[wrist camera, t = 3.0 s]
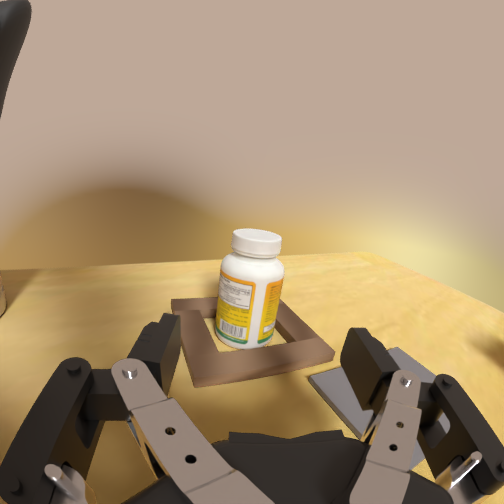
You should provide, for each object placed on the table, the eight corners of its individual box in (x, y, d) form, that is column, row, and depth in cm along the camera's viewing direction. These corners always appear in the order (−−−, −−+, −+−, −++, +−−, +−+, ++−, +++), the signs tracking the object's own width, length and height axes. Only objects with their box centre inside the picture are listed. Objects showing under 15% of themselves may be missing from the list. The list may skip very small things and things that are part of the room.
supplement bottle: (219, 353, 22) (229, 240, 19) (211, 320, 27) (219, 224, 24) (280, 349, 23) (300, 244, 20) (263, 319, 28) (277, 228, 25)
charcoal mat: (397, 480, 10) (401, 476, 9) (308, 380, 19) (309, 376, 19) (472, 409, 14) (475, 405, 14) (395, 350, 24) (397, 346, 23)
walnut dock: (194, 387, 17) (194, 377, 17) (171, 307, 28) (171, 299, 27) (332, 360, 22) (335, 351, 22) (273, 301, 32) (274, 293, 32)
